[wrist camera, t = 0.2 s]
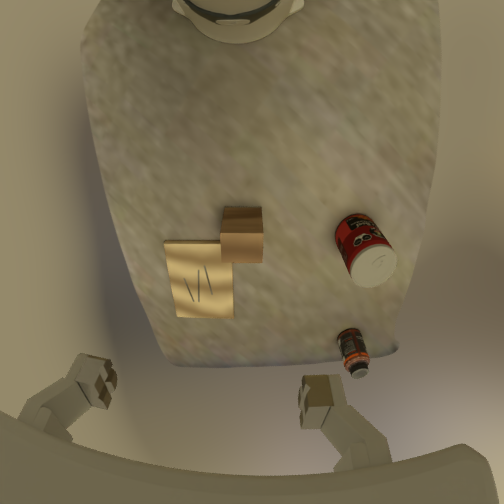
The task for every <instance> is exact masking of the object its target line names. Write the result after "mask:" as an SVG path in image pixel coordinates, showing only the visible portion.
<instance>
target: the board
mask: <svg viewBox="0 0 504 504" xmlns="http://www.w3.org/2000/svg"><path fill="white" fill-rule="evenodd" d="M164 248H165V254H166V260H167V266H168V272H169V277H170V283H171V288H172V293H173V298H174V303H175V308H176V313H177V317H195V318H233V319H234V301H233V270H232V263H222V262H221V242H220V241H211V240H165V242H164Z"/></svg>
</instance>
